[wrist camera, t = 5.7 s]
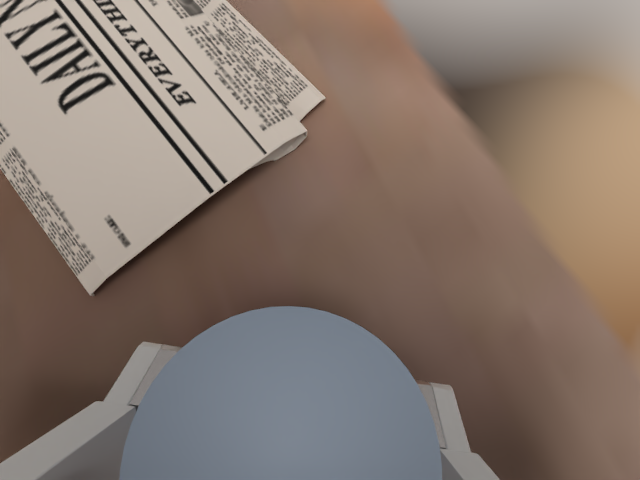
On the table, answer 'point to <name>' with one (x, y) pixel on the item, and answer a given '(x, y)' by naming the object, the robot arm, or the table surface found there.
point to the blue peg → (283, 406)
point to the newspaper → (136, 116)
